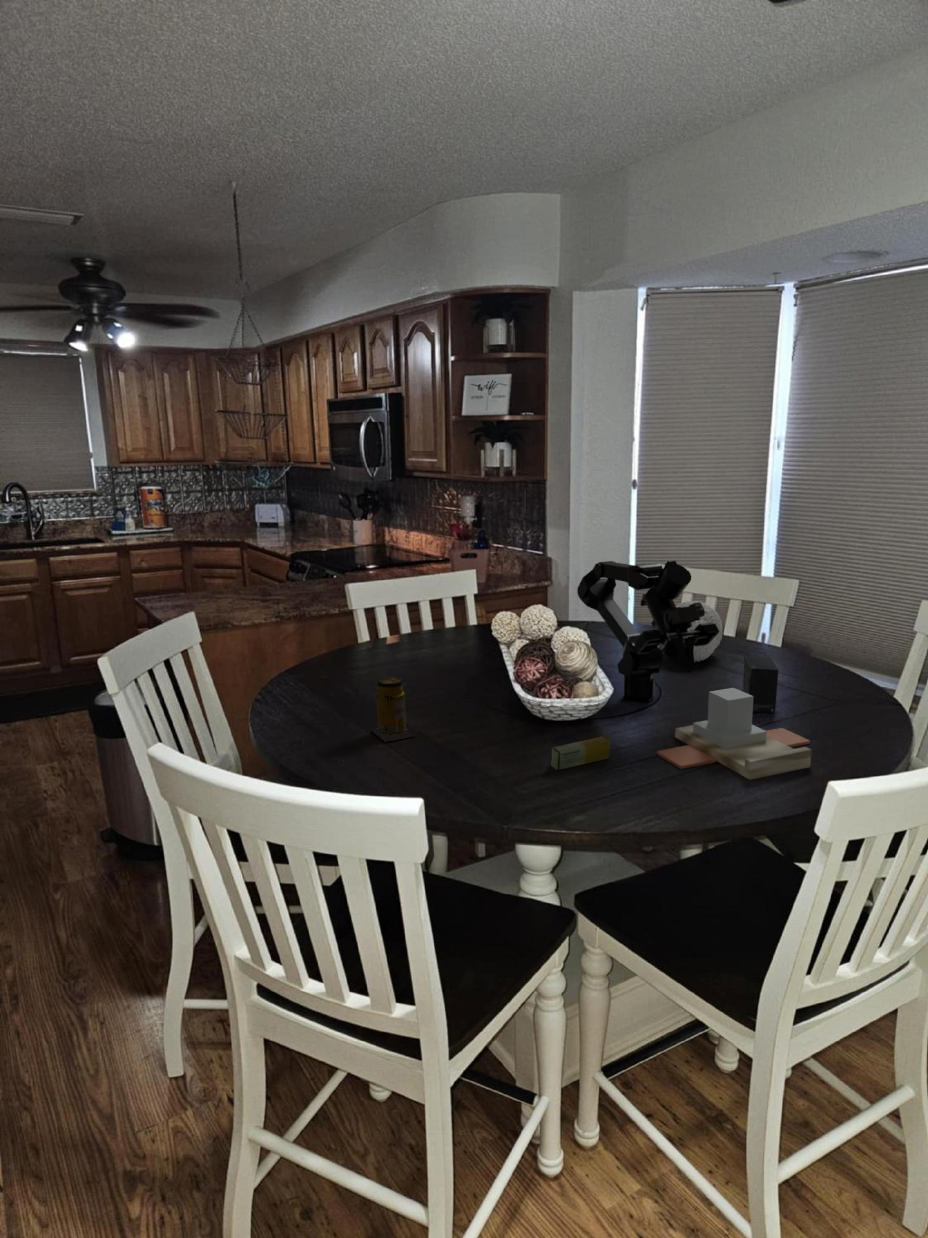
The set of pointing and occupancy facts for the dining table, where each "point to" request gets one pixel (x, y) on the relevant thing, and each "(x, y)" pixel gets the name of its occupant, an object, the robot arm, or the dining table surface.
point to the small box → (761, 682)
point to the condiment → (391, 706)
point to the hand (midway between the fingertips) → (692, 671)
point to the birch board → (750, 755)
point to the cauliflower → (709, 617)
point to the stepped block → (730, 720)
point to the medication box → (580, 753)
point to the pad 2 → (787, 737)
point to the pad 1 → (686, 756)
